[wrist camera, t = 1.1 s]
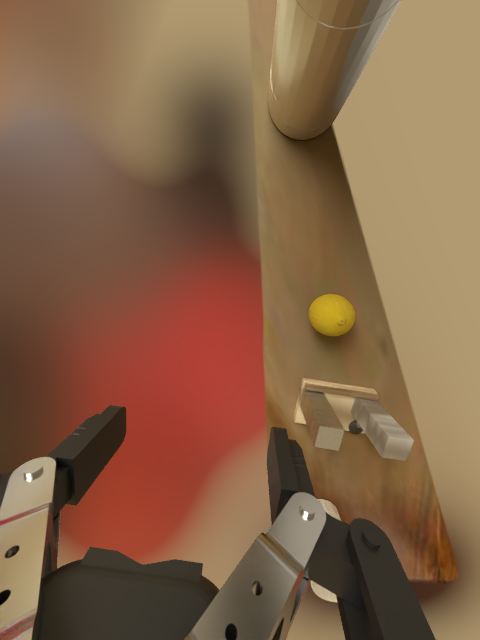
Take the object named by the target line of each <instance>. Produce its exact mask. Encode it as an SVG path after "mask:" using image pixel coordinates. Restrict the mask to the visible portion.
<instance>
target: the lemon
mask: <svg viewBox="0 0 480 640" xmlns="http://www.w3.org/2000/svg"><path fill="white" fill-rule="evenodd" d="M309 320H310V323H311V325H312V326H313V327H314V329H316V330H317V331H318V332H319V333H322V334H324V335H327V336H339V335H343V334H345V333H346V332H348V331H349V330H350V329H351V328H352V326H353V325H354V322H355V310H354V308H353V306H352V304H351V303H350V302H349V301H348V300H347V299H345V298H344V297H342V296H340V295H336V294H326V295H322V296H320V297H318V298H317V299H316V300H314V301H313V303H312V304H311V306H310V308H309Z"/></svg>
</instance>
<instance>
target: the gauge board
mask: <svg viewBox="0 0 480 640" xmlns="http://www.w3.org/2000/svg"><path fill="white" fill-rule="evenodd" d="M303 388H305V389H306V390H312V391H319V392H323V393H324V394H325V396H326V398H327V400H328V401H329V403H330V405H331V407H332V408H333V410H334V412H335V414H336V415H337V417H338V419H339V421H340V422H341V424H342V426H343V428H344V429H345V431H350V432H351V433H353V434H359V433H364V434H366V435H367V437H368V438H369V439H370V441H371V442H372V444H373V445H374V447H375V448H376V450H377V451H378V453H379V454H380V455H381V457H383V458H390V459H396V460H402V461H407V458H408V455H409V453H410V450H411V447H412V445H413V442H414V440H413V439H412V438H411V437H410V436H409V435H408V434H407V432H406V431H405V430H404V429H403V428H402V427H401V426H400V425H399V424H398V423H397V422H396V421H395V420H394V419H393V418H392V416H391V415H390V414H389V413H388V412H387V411H386V410H385V409H384V408H383V407H382V406H381V405H380V404H379V403H378V402H377V401H378V400H379V396H378V395H377V392H376V391H375V390H374V389H370V388H364V387H358V386H351V385H345V384H338V383H332V382H326V381H319V380H313V379H306V378H302V381H301V386H300V390H299V395H298V399H297V404H296V408H295V412H294V417H293V419H294V422H295V423H301V424H306V421H305V418H304V416H303V413H302V410H301V407H300V400H301V396H302V391H303Z"/></svg>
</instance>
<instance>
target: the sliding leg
mask: <svg viewBox="0 0 480 640" xmlns="http://www.w3.org/2000/svg"><path fill="white" fill-rule="evenodd" d="M300 407H301V410H302V413H303V416H304V418H305V421H306V424H307V427H308V430H309V433H310V436H311V439H312V441H313V444H314V447H318V448H324V449H330V450H336V451H339V448H340V445H341V441H342V438H343V435H344V431H345V429H344V428H343V426H342V424H341V422H340V421H339V419H338V417H337V415H336V414H335V412H334V410H333V408H332V407H331V405H330V403H329V401H328V400H327V398H326V396H325V394H324V393H323V392H319V391H312V390H306V389H305V388H303V391H302V396H301V400H300Z"/></svg>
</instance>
